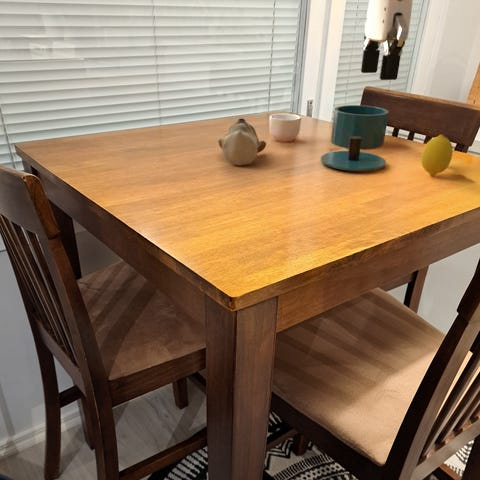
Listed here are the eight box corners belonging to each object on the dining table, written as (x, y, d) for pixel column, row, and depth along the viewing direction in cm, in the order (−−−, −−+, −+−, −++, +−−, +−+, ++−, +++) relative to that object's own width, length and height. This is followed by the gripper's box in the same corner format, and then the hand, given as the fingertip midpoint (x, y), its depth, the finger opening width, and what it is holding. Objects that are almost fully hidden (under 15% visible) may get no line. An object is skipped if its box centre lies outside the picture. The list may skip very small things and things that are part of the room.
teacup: (300, 143, 120) (302, 120, 117) (268, 143, 120) (270, 119, 117) (297, 134, 128) (299, 112, 125) (267, 133, 128) (268, 111, 125)
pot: (370, 135, 128) (375, 104, 124) (391, 148, 118) (397, 114, 113) (324, 137, 126) (327, 105, 122) (341, 150, 116) (345, 115, 111)
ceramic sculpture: (212, 122, 97) (220, 112, 110) (212, 167, 101) (219, 152, 114) (266, 124, 97) (268, 114, 110) (264, 169, 101) (265, 154, 114)
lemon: (435, 171, 102) (444, 130, 98) (452, 179, 98) (463, 137, 94) (412, 173, 101) (420, 132, 97) (429, 181, 97) (438, 139, 92)
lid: (369, 154, 112) (373, 129, 109) (396, 172, 101) (401, 144, 98) (312, 157, 110) (314, 130, 107) (332, 175, 99) (336, 146, 96)
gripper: (437, -35, 79) (416, 82, 89) (393, -31, 94) (379, 70, 103) (393, -36, 78) (376, 83, 88) (355, -31, 93) (344, 70, 102)
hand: (378, 76), depth 95 cm, fingers open, 9 cm apart
